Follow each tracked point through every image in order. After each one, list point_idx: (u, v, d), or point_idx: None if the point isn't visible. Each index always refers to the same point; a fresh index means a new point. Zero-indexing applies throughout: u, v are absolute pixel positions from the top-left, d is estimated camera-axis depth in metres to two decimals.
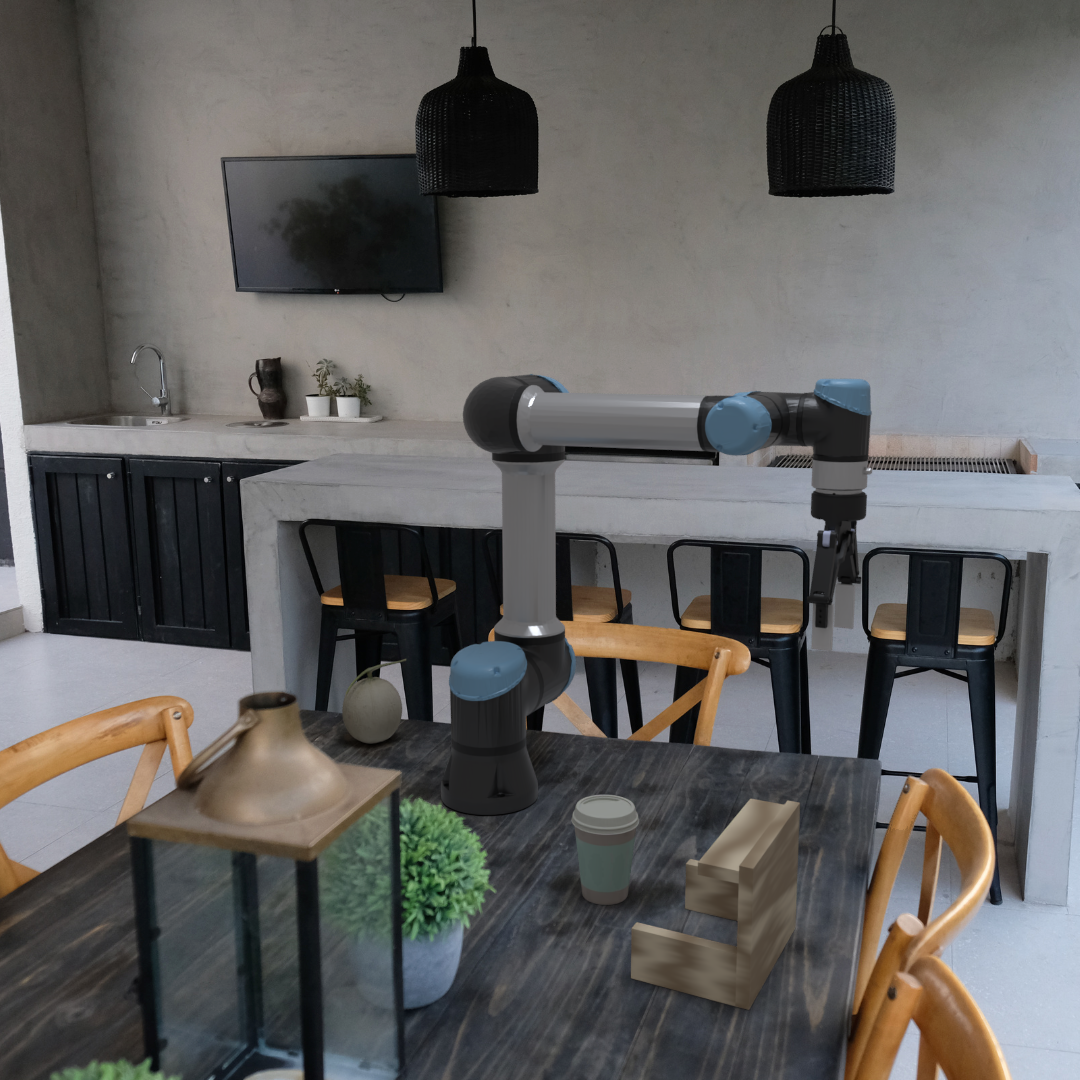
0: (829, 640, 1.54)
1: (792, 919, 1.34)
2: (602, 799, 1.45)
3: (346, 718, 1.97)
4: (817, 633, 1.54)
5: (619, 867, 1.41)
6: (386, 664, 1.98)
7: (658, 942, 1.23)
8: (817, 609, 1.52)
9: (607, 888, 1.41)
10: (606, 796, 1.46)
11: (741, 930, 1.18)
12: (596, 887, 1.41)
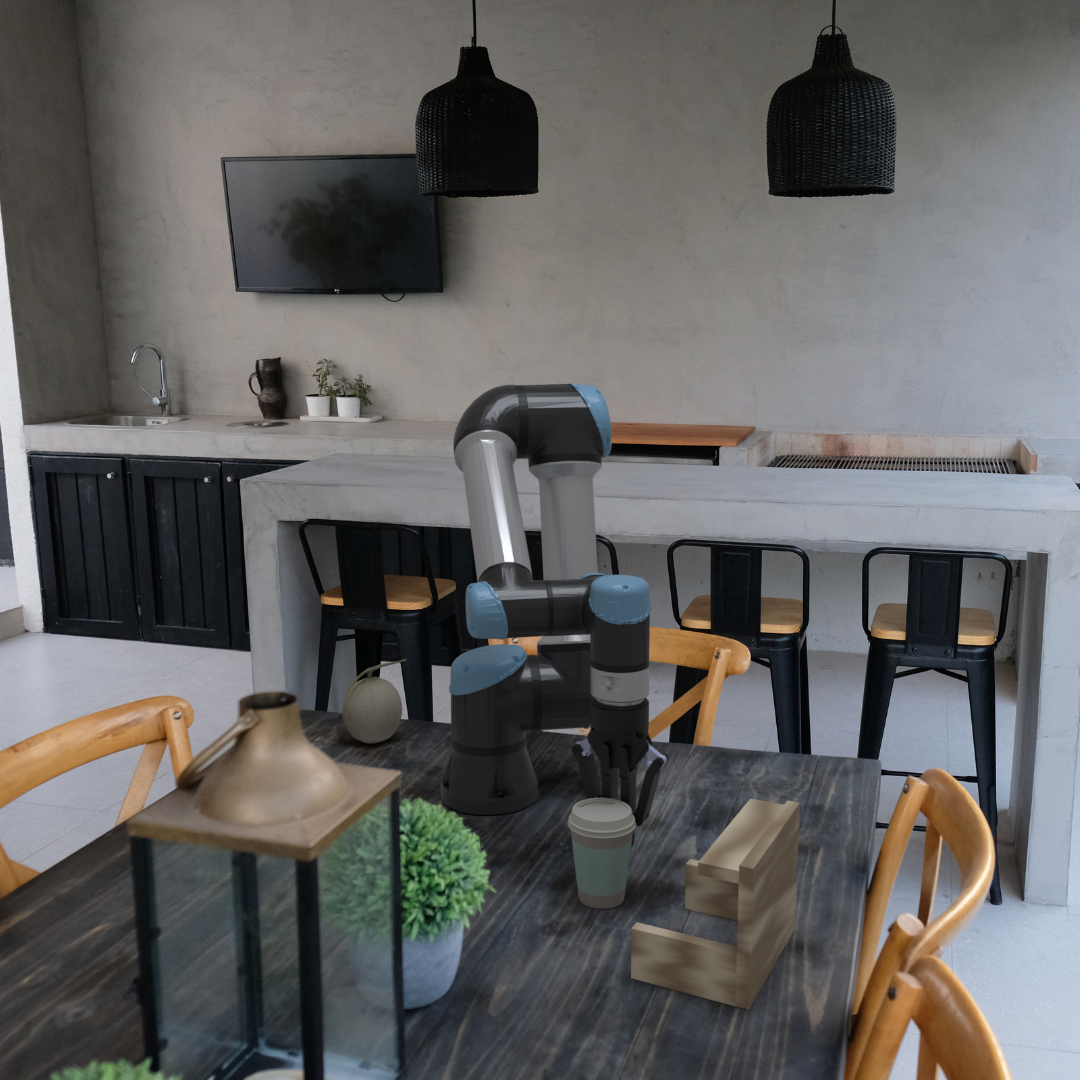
0: None
1: (792, 919, 1.34)
2: (598, 802, 1.44)
3: (346, 718, 1.97)
4: None
5: (616, 871, 1.40)
6: (386, 664, 1.98)
7: (658, 942, 1.23)
8: None
9: (604, 892, 1.40)
10: (602, 799, 1.45)
11: (741, 930, 1.18)
12: (593, 891, 1.40)
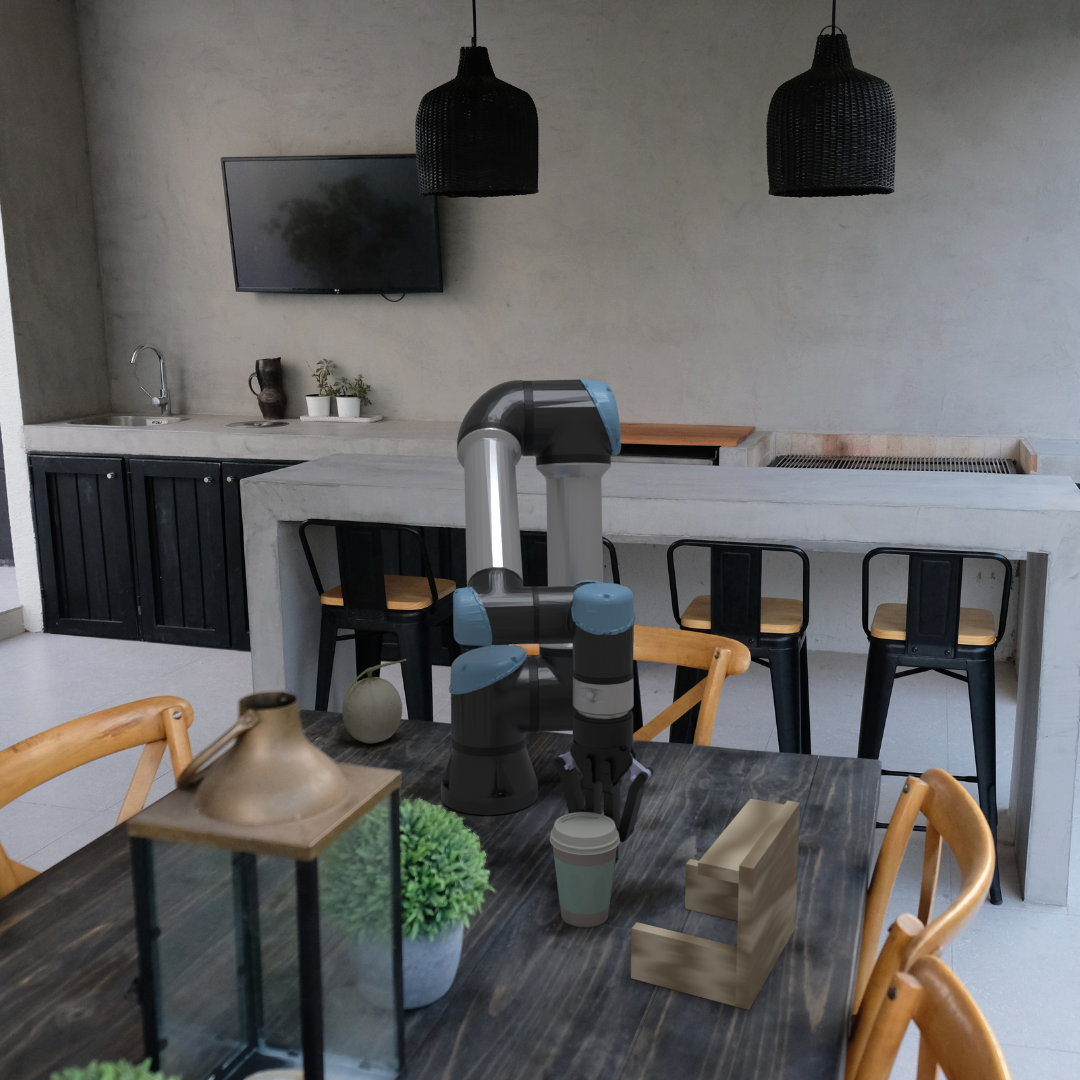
0: None
1: (792, 919, 1.34)
2: (581, 817, 1.40)
3: (346, 718, 1.97)
4: None
5: (600, 888, 1.35)
6: (386, 664, 1.98)
7: (658, 942, 1.23)
8: None
9: (587, 910, 1.35)
10: (585, 814, 1.40)
11: (741, 930, 1.18)
12: (576, 909, 1.36)
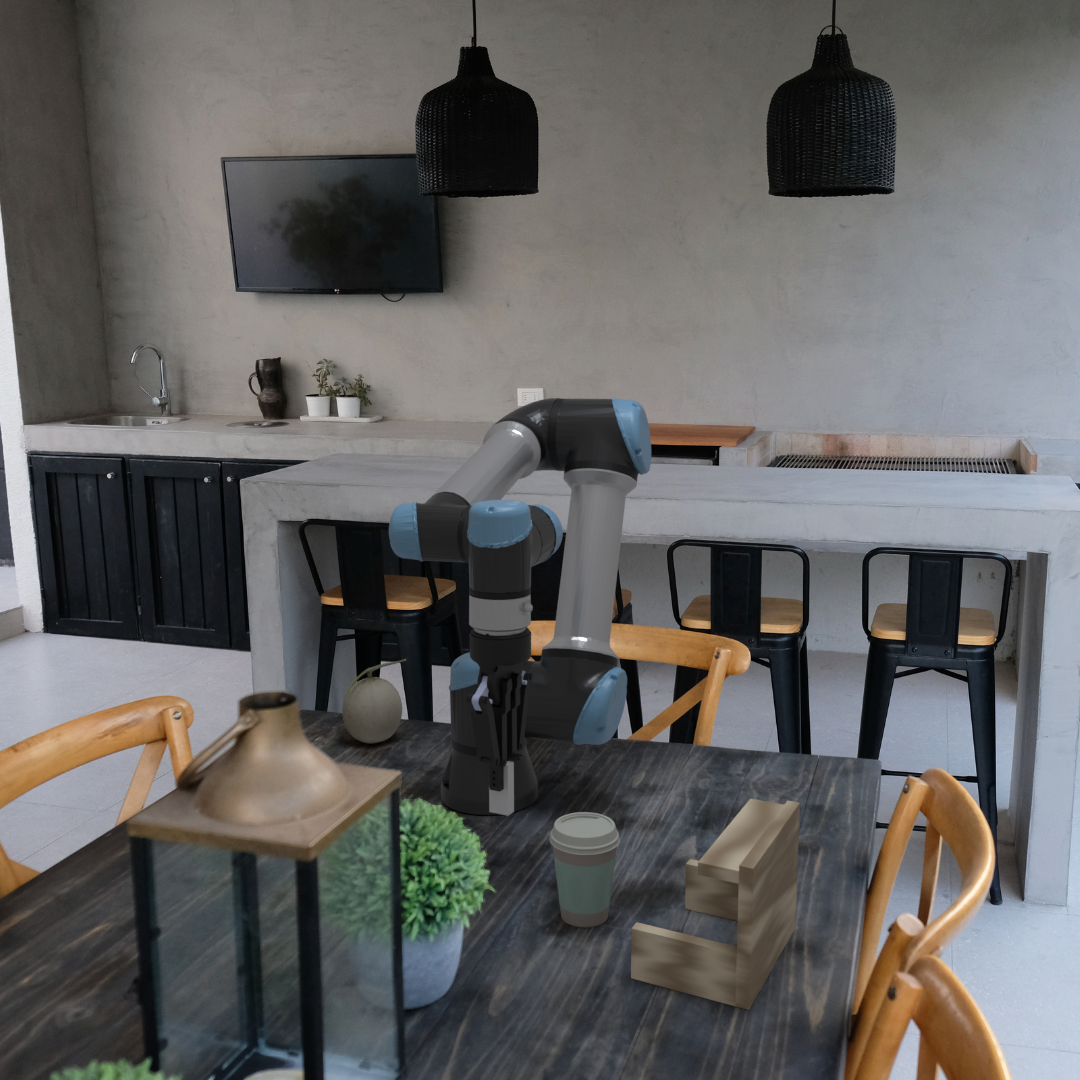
0: (506, 804, 1.40)
1: (792, 919, 1.34)
2: (581, 817, 1.40)
3: (346, 718, 1.97)
4: (494, 795, 1.40)
5: (600, 888, 1.35)
6: (386, 664, 1.98)
7: (658, 942, 1.23)
8: (490, 770, 1.39)
9: (587, 910, 1.35)
10: (585, 814, 1.40)
11: (741, 930, 1.18)
12: (576, 909, 1.36)
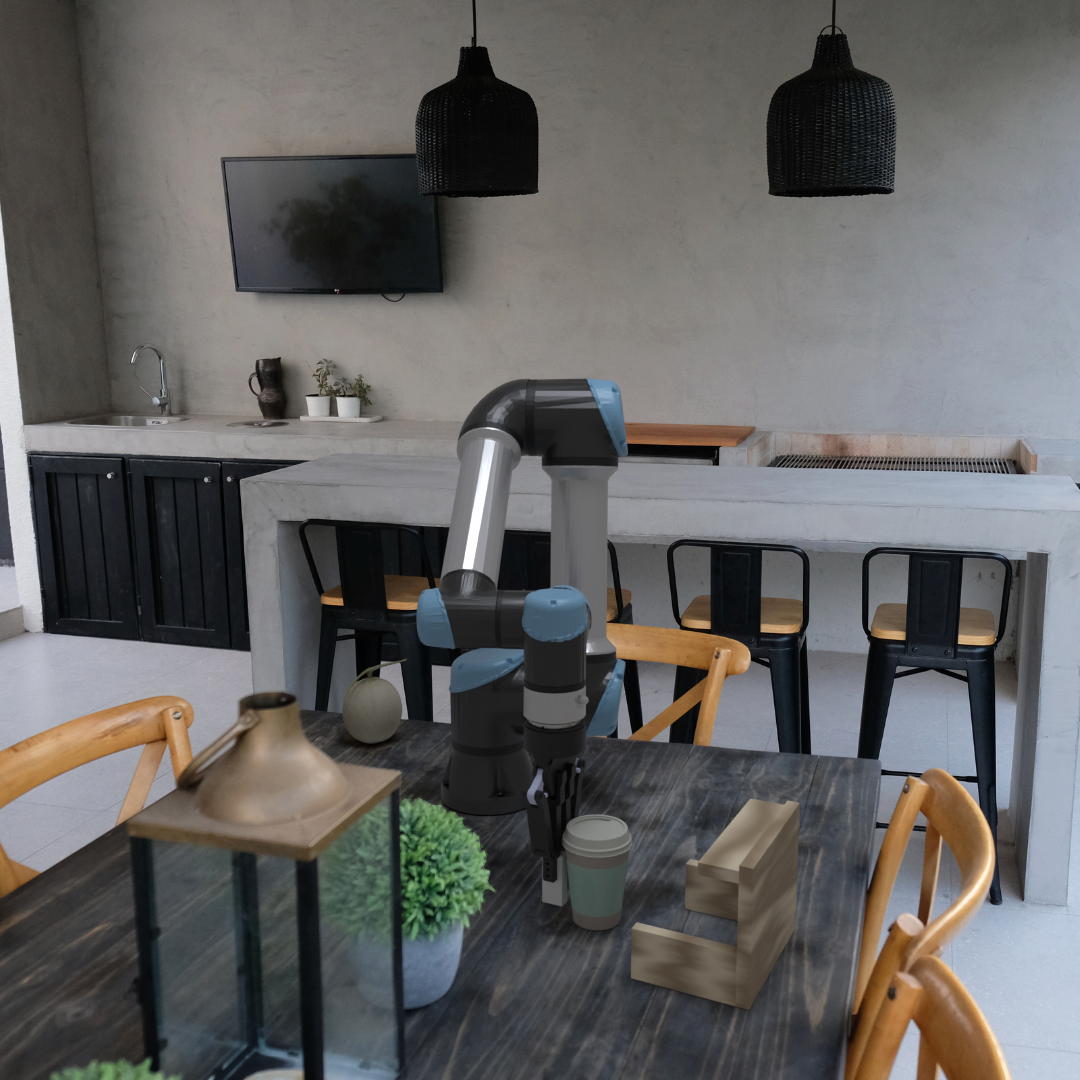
0: (560, 894, 1.38)
1: (792, 919, 1.34)
2: (593, 819, 1.39)
3: (346, 718, 1.97)
4: (547, 885, 1.39)
5: (612, 891, 1.34)
6: (386, 664, 1.98)
7: (658, 942, 1.23)
8: (544, 862, 1.37)
9: (600, 913, 1.35)
10: (597, 816, 1.39)
11: (741, 930, 1.18)
12: (588, 912, 1.35)
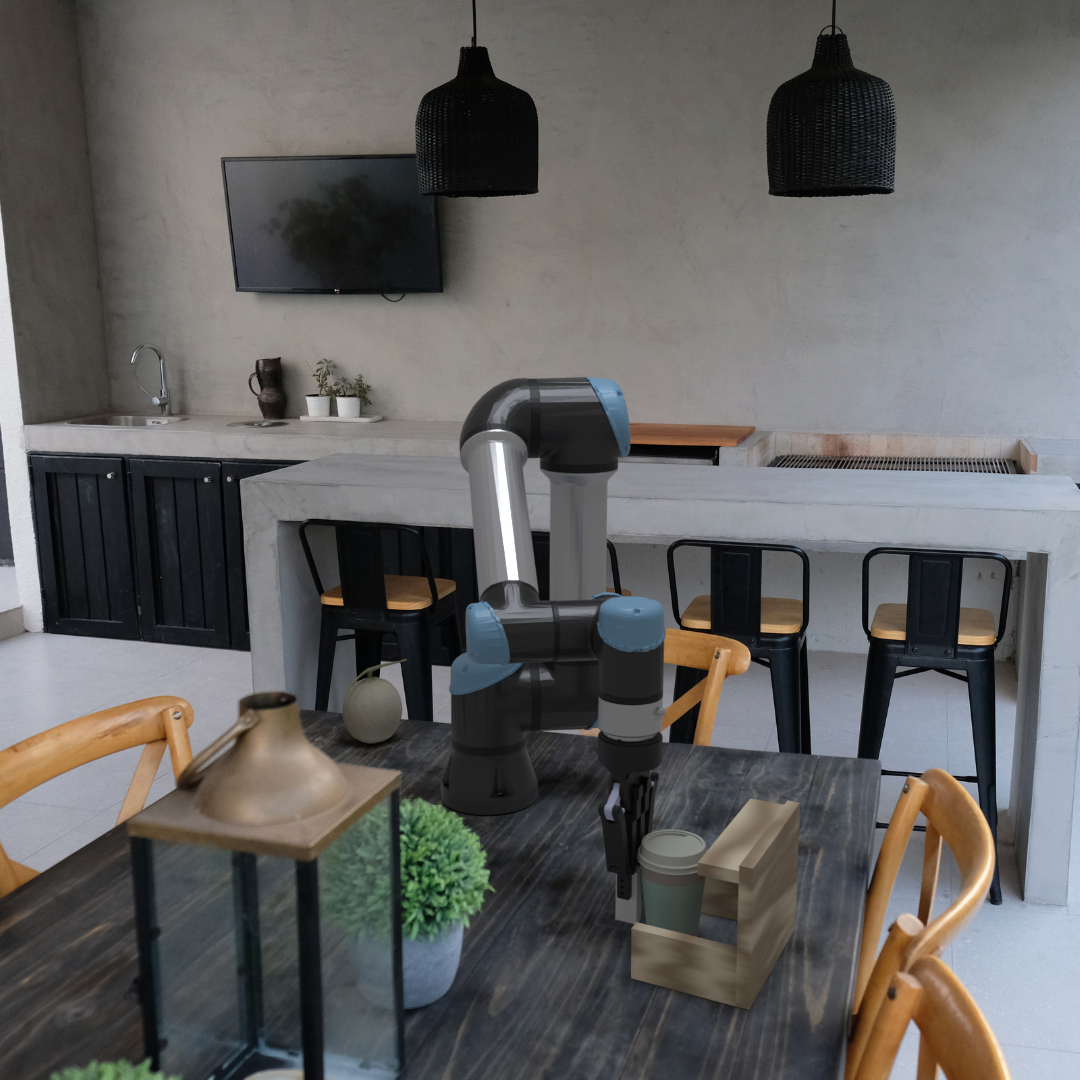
0: (634, 912, 1.34)
1: (792, 919, 1.34)
2: (668, 834, 1.35)
3: (346, 718, 1.97)
4: (620, 902, 1.34)
5: (690, 909, 1.30)
6: (386, 664, 1.98)
7: (658, 942, 1.23)
8: (618, 878, 1.33)
9: None
10: (672, 831, 1.35)
11: (741, 930, 1.18)
12: None
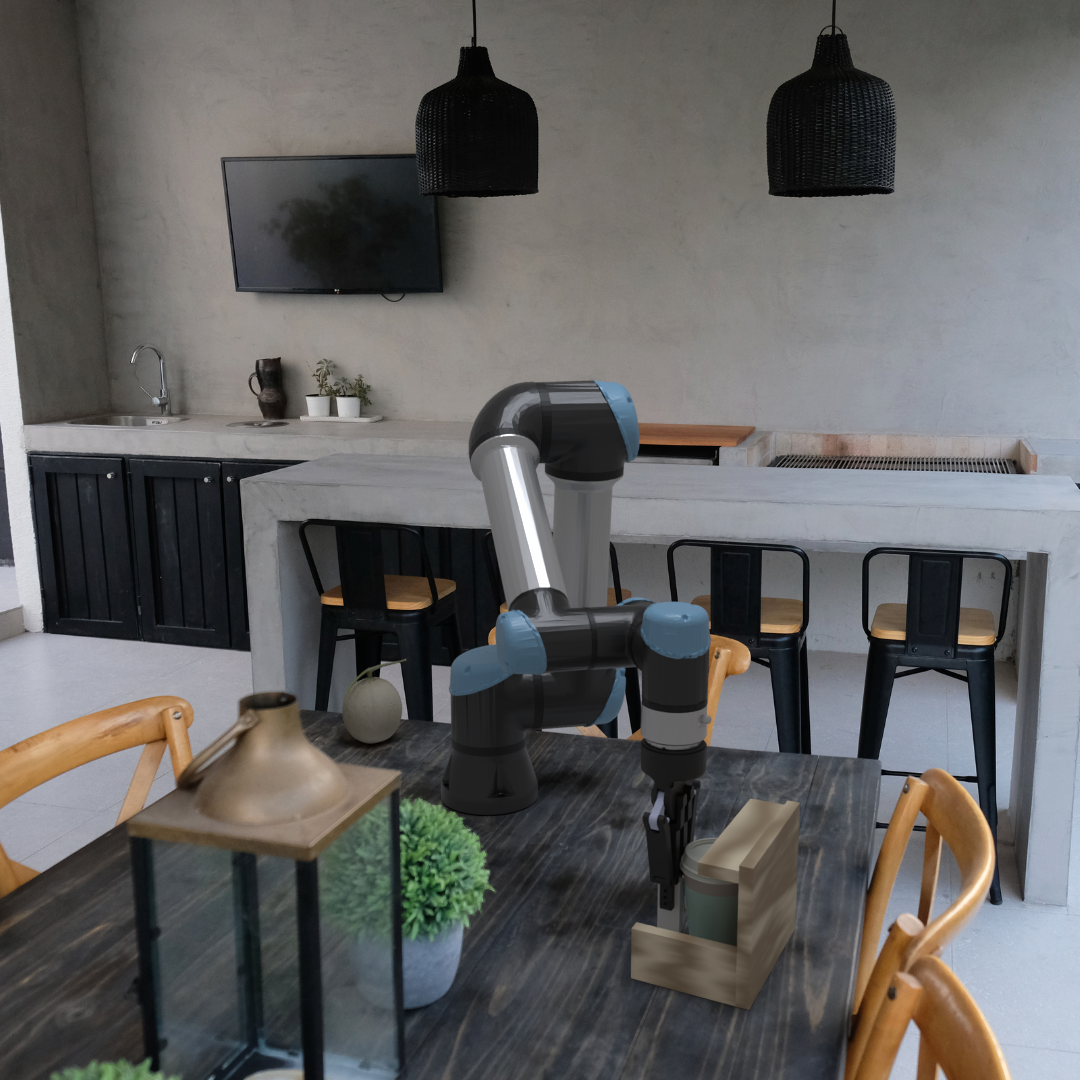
0: (677, 923, 1.31)
1: (792, 919, 1.34)
2: (712, 843, 1.33)
3: (346, 718, 1.97)
4: (663, 913, 1.32)
5: (734, 920, 1.28)
6: (386, 664, 1.98)
7: (658, 942, 1.23)
8: (661, 889, 1.30)
9: (720, 942, 1.28)
10: None
11: (741, 930, 1.18)
12: None
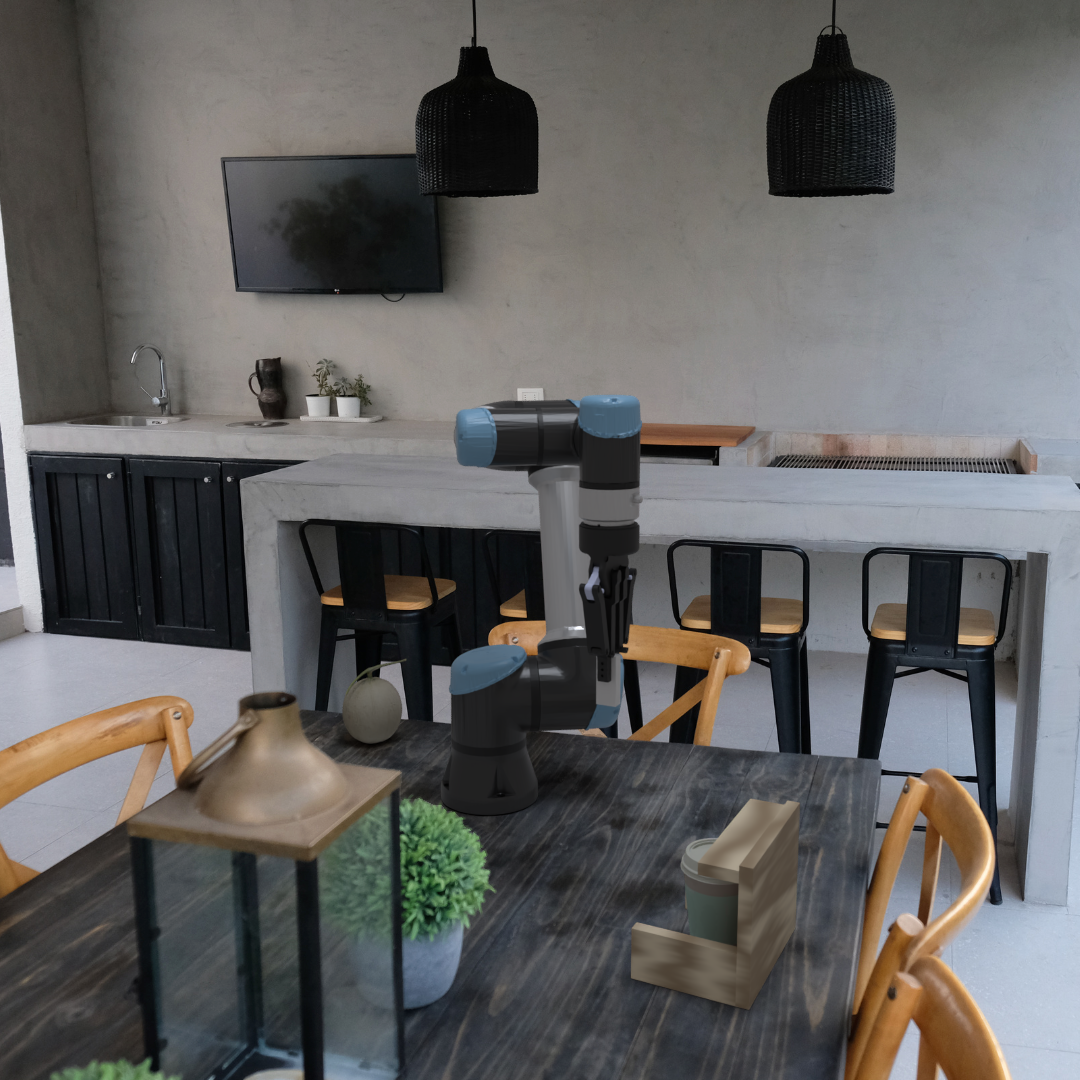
0: (614, 695, 1.42)
1: (792, 919, 1.34)
2: None
3: (346, 718, 1.97)
4: (601, 687, 1.43)
5: (734, 920, 1.28)
6: (386, 664, 1.98)
7: (658, 942, 1.23)
8: (599, 662, 1.41)
9: (721, 942, 1.28)
10: None
11: (741, 930, 1.18)
12: None
